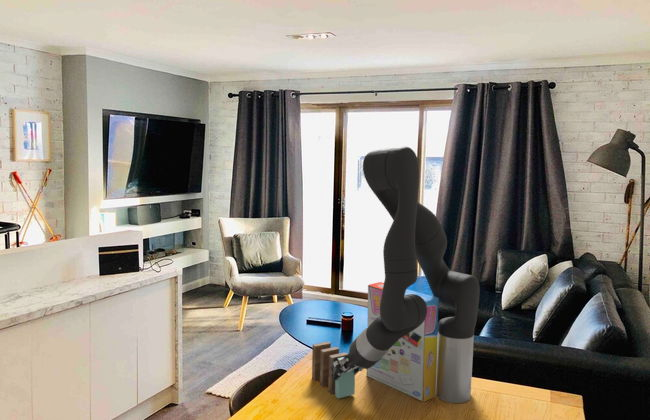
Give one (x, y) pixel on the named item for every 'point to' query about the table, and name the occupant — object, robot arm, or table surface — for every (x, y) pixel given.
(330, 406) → the table surface
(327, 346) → the domino
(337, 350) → the domino
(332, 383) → the domino
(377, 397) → the table surface
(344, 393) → the teal domino
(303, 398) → the table surface
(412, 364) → the game box
